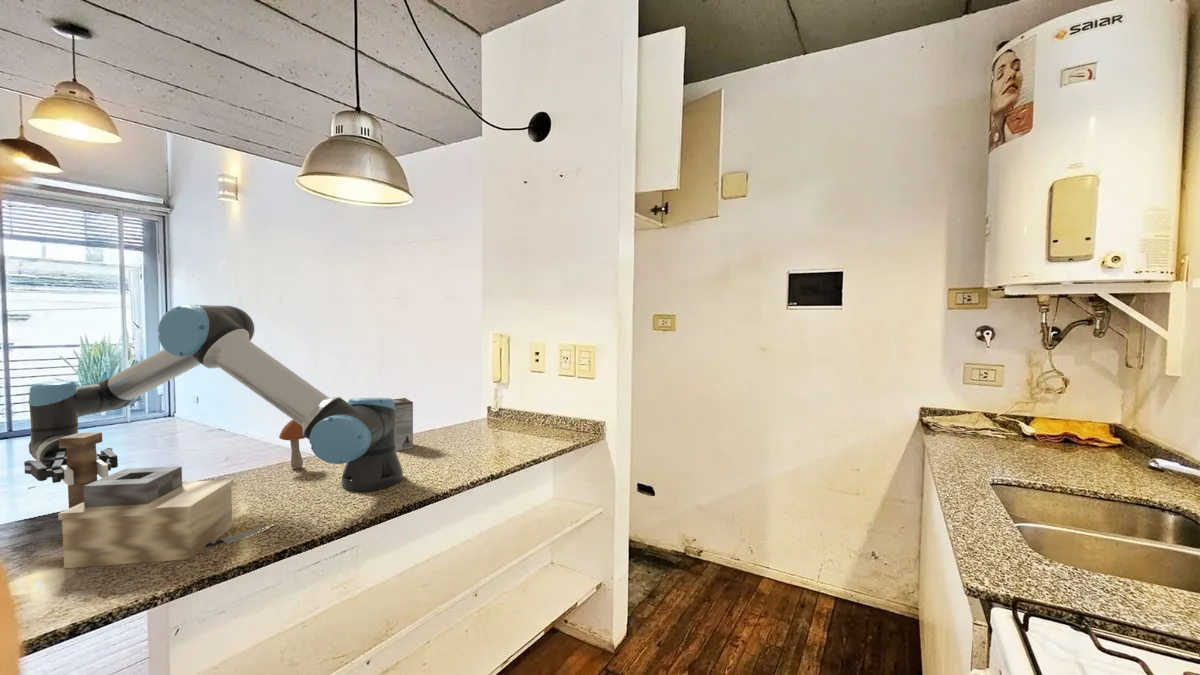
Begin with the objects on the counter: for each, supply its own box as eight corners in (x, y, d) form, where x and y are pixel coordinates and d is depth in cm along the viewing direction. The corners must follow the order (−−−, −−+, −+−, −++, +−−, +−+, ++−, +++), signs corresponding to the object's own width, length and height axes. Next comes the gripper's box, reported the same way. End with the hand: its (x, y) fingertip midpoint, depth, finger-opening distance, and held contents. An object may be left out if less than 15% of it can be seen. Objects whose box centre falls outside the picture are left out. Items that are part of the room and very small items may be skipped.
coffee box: (386, 445, 170) (386, 399, 169) (405, 442, 174) (405, 397, 173) (394, 451, 163) (394, 403, 162) (414, 448, 167) (413, 401, 166)
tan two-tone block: (234, 526, 106) (232, 461, 105) (191, 559, 91) (189, 485, 91) (123, 533, 102) (120, 465, 101) (60, 569, 87) (57, 491, 87)
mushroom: (285, 475, 138) (283, 422, 138) (275, 468, 144) (274, 418, 143) (315, 468, 144) (314, 418, 144) (305, 462, 150) (304, 414, 149)
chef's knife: (293, 525, 108) (286, 521, 109) (293, 520, 107) (286, 516, 109) (184, 561, 92) (178, 556, 93) (184, 555, 91) (178, 550, 93)
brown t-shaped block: (105, 511, 104) (102, 432, 104) (87, 519, 100) (84, 437, 99) (80, 512, 104) (77, 433, 103) (62, 521, 99) (58, 438, 98)
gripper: (116, 461, 119) (146, 481, 106) (5, 481, 104) (23, 507, 91) (115, 430, 118) (145, 447, 105) (3, 446, 104) (21, 467, 91)
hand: (88, 474), depth 98 cm, fingers closed on brown t-shaped block, 4 cm apart
